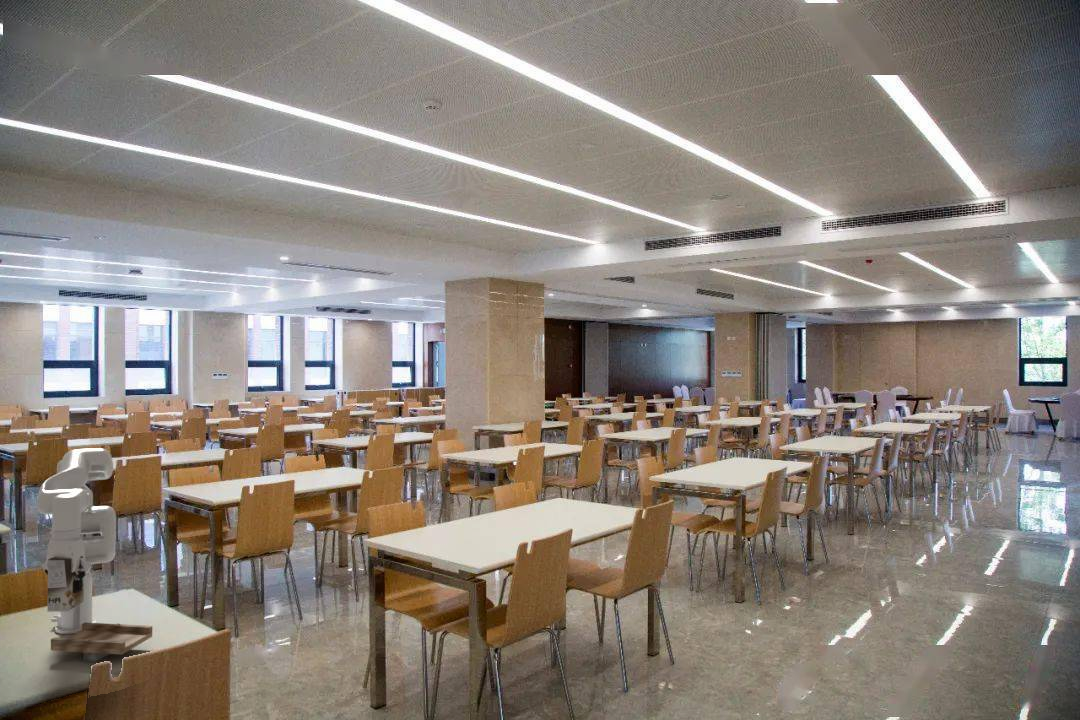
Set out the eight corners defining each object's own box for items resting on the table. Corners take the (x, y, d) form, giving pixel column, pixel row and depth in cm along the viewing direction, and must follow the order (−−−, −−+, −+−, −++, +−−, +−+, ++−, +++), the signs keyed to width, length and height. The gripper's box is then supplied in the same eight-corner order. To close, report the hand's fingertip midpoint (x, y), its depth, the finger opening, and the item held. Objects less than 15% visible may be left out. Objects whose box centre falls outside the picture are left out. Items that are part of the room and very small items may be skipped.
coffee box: (68, 611, 228) (68, 559, 227) (46, 612, 227) (46, 559, 227) (84, 601, 237) (84, 551, 236) (63, 601, 236) (63, 551, 236)
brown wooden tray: (50, 661, 234) (50, 638, 234) (85, 643, 249) (85, 621, 249) (121, 665, 231) (122, 642, 231) (152, 647, 246) (152, 625, 246)
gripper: (31, 535, 229) (31, 593, 229) (83, 538, 227) (83, 596, 227) (50, 529, 236) (50, 585, 237) (100, 532, 234) (100, 588, 235)
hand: (66, 590), depth 232 cm, fingers closed on coffee box, 7 cm apart
